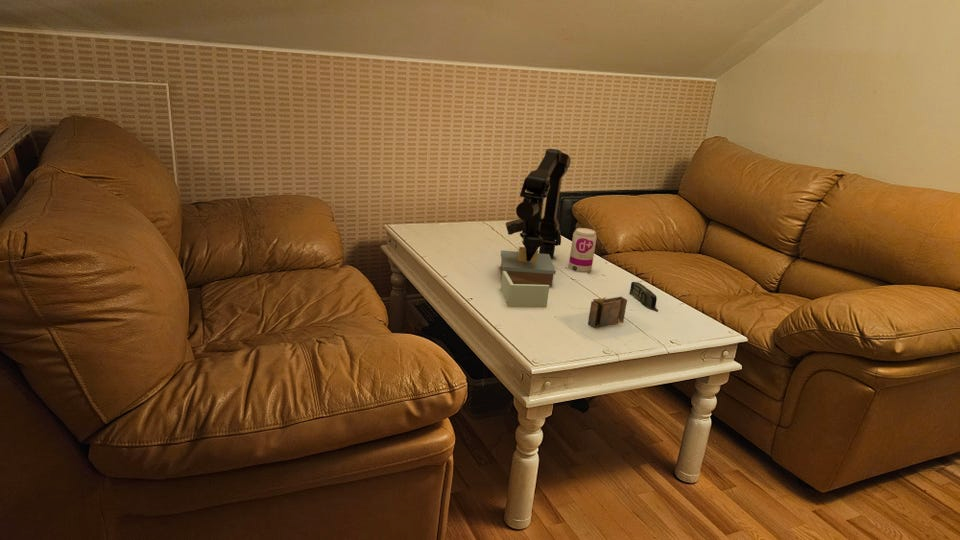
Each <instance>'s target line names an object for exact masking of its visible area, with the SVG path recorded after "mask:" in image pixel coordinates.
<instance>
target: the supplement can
mask: <svg viewBox="0 0 960 540" xmlns="http://www.w3.org/2000/svg"><path fill="white" fill-rule="evenodd" d="M596 245H597V234H596V231H595V230H594V229H591V228H587V227H586V228H585V227H578V228H576V229H575V230H574V232H573V233H572V241H571V247H570V254H569V261H568V269H569V270H571V271H573V272H576V273H587V274H589V273H590V272H591V271H592V270H593V269H592V267H593V261H594V257H595V256H594V255H595V249H596Z"/></svg>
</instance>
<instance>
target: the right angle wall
mask: <svg viewBox="0 0 960 540" xmlns="http://www.w3.org/2000/svg"><path fill="white" fill-rule="evenodd" d="M500 291H501V294H503V296H504V298H505V303H506V305H507V307H509V308H510V307H511V308H512V307H513V308H517V307H518V308H519V307H520V308H547V306H548V299H549V291H550V287H549V285H530V284H513V282H512V281H511V279H510V277H509V276H508V274H507V272H506V271H503V272H501V282H500Z"/></svg>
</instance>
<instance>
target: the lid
mask: <svg viewBox="0 0 960 540" xmlns="http://www.w3.org/2000/svg"><path fill="white" fill-rule="evenodd" d="M500 259H501V260H502V266H503V270H505V271H518V272H531V273H544V274H553V275H556V272H557V271H556V268H555V265H554V263H553V260H552V259H551V257H550V255H549V254H540V253H539V248H538V249H537V251H536V252H535V254H534V255H533V257H532V259H531V260H530V261H527V258H526V247H523V246H519V248H518V251H514V250H513V251H512V250H502V249H501V250H500Z"/></svg>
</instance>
